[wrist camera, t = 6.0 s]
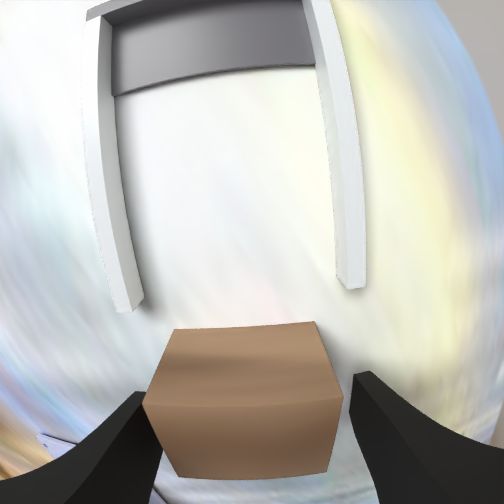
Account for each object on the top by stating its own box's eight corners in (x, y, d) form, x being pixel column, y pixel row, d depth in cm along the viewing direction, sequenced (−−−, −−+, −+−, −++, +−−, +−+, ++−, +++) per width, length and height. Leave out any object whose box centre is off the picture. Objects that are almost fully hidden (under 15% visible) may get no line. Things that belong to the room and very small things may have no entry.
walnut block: (309, 398, 11) (326, 471, 7) (193, 403, 11) (178, 477, 7) (313, 320, 10) (343, 396, 6) (175, 327, 10) (141, 403, 6)
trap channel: (352, 273, 9) (365, 286, 8) (129, 297, 9) (116, 312, 8) (312, -13, 6) (318, -31, 5) (101, 22, 7) (87, 10, 5)
